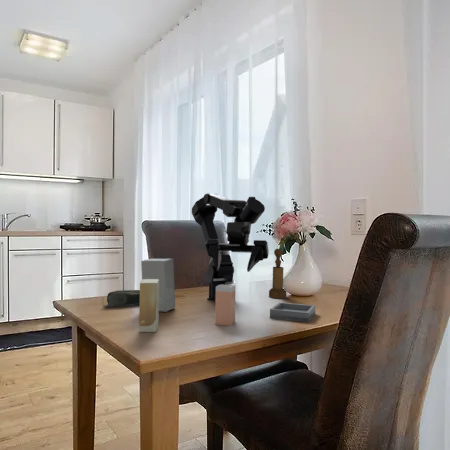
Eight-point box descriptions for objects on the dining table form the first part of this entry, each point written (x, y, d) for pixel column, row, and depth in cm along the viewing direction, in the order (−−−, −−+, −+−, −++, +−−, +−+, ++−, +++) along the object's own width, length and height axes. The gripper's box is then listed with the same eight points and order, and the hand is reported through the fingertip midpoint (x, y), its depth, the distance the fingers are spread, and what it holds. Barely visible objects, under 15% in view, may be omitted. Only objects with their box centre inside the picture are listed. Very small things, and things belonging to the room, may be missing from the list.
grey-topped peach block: (215, 324, 102) (215, 286, 102) (219, 320, 107) (220, 284, 107) (231, 325, 101) (231, 287, 101) (235, 321, 106) (235, 285, 106)
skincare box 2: (141, 325, 100) (142, 278, 100) (158, 325, 100) (159, 278, 100) (138, 332, 93) (139, 282, 93) (156, 332, 94) (157, 282, 94)
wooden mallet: (285, 298, 140) (286, 249, 140) (268, 298, 141) (268, 248, 141) (286, 295, 146) (287, 248, 146) (269, 294, 147) (270, 248, 147)
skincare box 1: (175, 308, 121) (176, 258, 121) (164, 313, 114) (165, 260, 114) (151, 306, 124) (152, 257, 124) (140, 310, 117) (140, 258, 117)
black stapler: (147, 288, 130) (102, 290, 123) (150, 290, 128) (104, 292, 120) (147, 303, 130) (101, 306, 123) (150, 305, 128) (104, 308, 120)
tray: (269, 318, 110) (270, 309, 110) (279, 310, 120) (279, 302, 120) (308, 322, 106) (308, 313, 106) (315, 313, 116) (315, 305, 116)
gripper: (207, 213, 119) (195, 250, 108) (267, 213, 114) (261, 252, 103) (214, 237, 126) (203, 275, 116) (270, 239, 122) (265, 278, 111)
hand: (232, 270), depth 111 cm, fingers open, 9 cm apart
